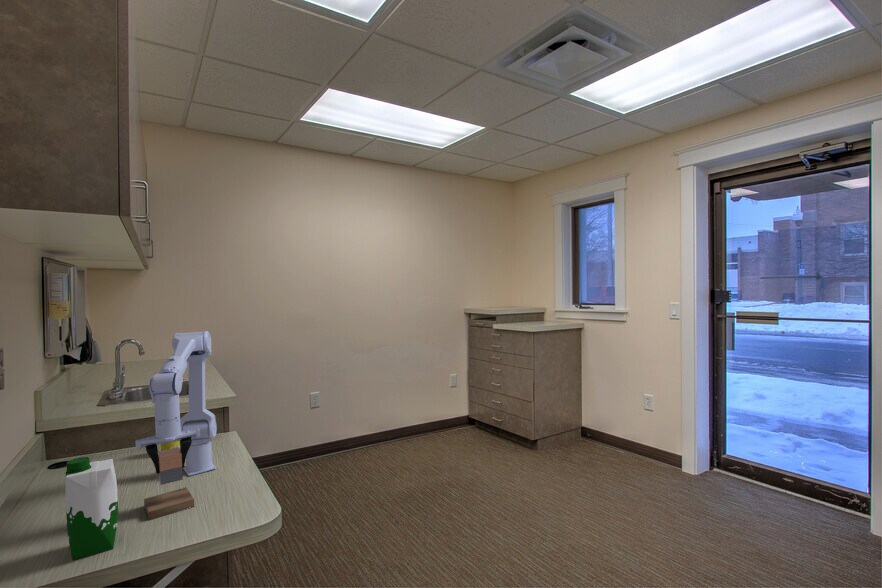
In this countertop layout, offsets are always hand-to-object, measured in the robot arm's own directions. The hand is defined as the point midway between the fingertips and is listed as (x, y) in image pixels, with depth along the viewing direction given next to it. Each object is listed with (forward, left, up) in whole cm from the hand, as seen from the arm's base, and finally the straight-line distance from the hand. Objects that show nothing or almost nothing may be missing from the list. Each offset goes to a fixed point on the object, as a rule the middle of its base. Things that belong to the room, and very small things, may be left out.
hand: (170, 469), depth 121 cm
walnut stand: (0, -1, -9) cm, 9 cm away
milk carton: (+11, -17, -10) cm, 22 cm away
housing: (0, 0, -2) cm, 2 cm away
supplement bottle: (-49, +7, -10) cm, 50 cm away
